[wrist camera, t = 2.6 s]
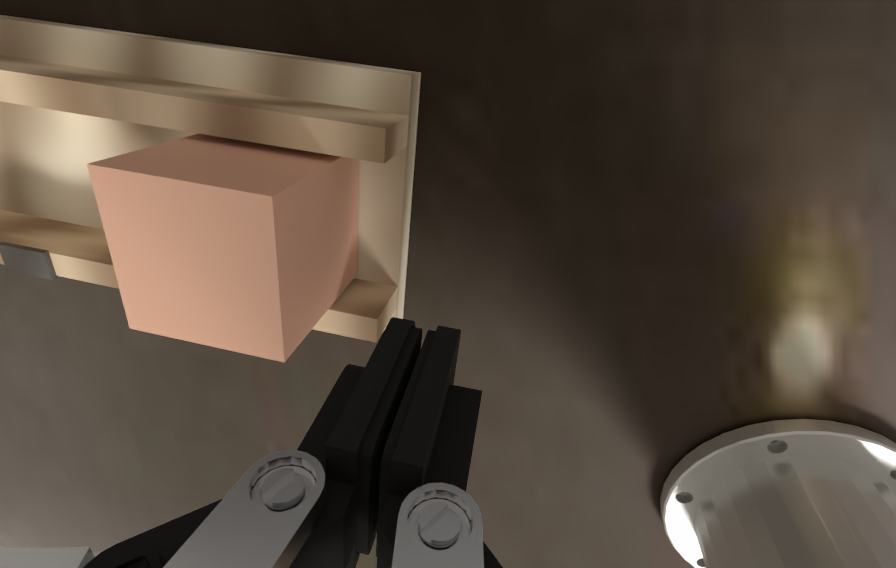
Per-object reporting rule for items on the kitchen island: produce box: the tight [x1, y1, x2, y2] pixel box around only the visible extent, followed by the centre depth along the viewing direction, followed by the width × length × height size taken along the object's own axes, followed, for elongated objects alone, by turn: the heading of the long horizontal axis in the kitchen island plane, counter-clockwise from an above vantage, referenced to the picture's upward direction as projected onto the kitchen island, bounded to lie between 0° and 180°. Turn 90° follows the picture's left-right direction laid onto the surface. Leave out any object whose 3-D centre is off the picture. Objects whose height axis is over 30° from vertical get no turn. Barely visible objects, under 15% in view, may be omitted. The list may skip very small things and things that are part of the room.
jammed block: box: [87, 133, 359, 362], centre depth 18 cm, size 6×6×7 cm
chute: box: [0, 15, 421, 343], centre depth 22 cm, size 24×12×5 cm, turn 84°
